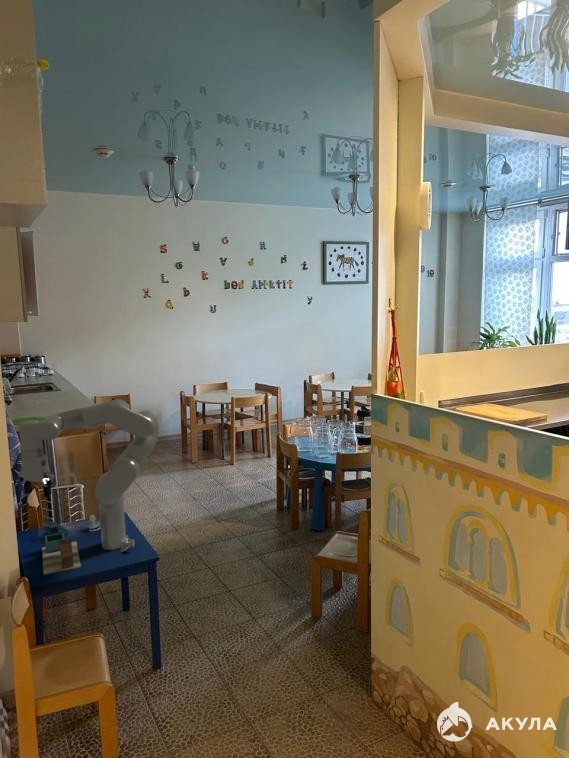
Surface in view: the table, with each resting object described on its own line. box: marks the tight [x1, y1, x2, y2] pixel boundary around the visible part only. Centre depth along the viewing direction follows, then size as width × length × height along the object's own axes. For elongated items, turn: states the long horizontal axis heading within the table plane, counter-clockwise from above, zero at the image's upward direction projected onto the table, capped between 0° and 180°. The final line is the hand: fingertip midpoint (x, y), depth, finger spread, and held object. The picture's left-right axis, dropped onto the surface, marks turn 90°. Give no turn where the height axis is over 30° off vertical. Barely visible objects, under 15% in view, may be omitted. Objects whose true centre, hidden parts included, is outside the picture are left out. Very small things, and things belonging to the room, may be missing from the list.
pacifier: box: [84, 514, 101, 533], centre depth 249 cm, size 7×6×6 cm
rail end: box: [60, 539, 74, 569], centre depth 214 cm, size 4×4×9 cm
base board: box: [41, 540, 82, 576], centre depth 221 cm, size 24×13×2 cm, turn 24°
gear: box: [47, 520, 70, 535], centre depth 243 cm, size 11×6×10 cm
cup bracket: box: [44, 523, 66, 554], centre depth 223 cm, size 14×7×10 cm, turn 24°
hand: (38, 494), depth 221 cm, fingers open, 9 cm apart
